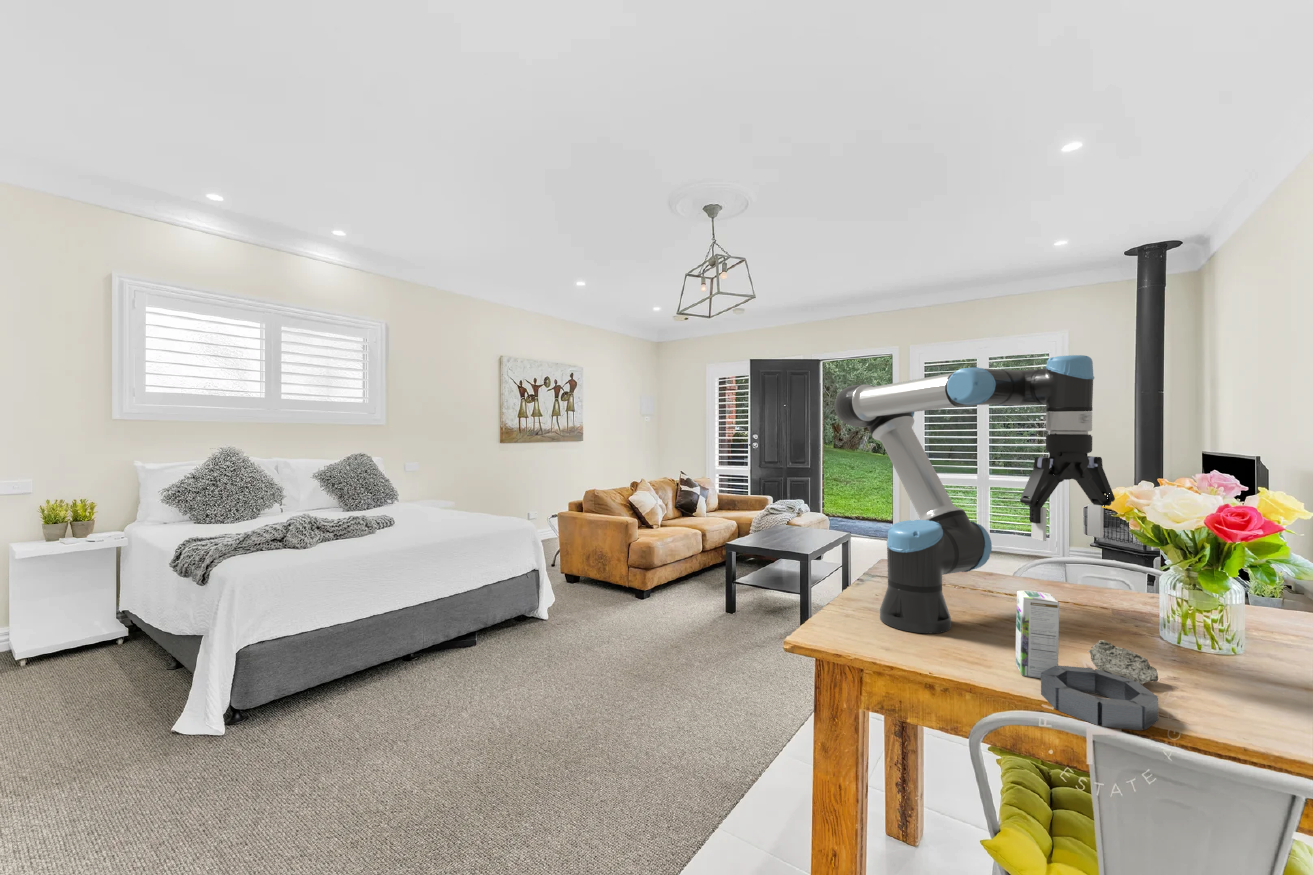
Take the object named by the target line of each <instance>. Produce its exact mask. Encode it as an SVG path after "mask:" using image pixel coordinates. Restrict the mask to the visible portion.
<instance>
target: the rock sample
mask: <svg viewBox="0 0 1313 875" xmlns="http://www.w3.org/2000/svg"><path fill="white" fill-rule="evenodd" d="M1087 653H1089V654H1090V659H1091V662H1092V663H1093V665H1094V666H1095V668H1096V669H1098V670H1101V671H1104V672H1108V673H1111V674H1114V675H1118V676H1121V677H1124V678H1128V679H1131V680H1134V682H1138V683H1139V684H1141V685H1142V686H1143V685H1144V684H1145V683H1150V682H1151V683H1153V682H1158V680H1159V674H1158V672H1157V668H1155V667H1153V665H1152V666H1151V664H1150V663H1149V660H1148V658H1147V657H1145V656H1142V655H1141V654H1139V653H1137V652H1134V651H1132V650H1130V649H1127V648H1124V647H1120V646H1116V645H1114V644H1113V643H1112V642H1108V641H1107V640H1103V639H1102V640H1101V639H1099V640H1098V641H1097V642H1096V643H1095V644H1093V646H1091V647H1090V649H1089V650H1087ZM1160 680H1161V678H1160Z"/></svg>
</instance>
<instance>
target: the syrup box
mask: <svg viewBox="0 0 1313 875" xmlns="http://www.w3.org/2000/svg"><path fill="white" fill-rule="evenodd" d="M1015 619H1016V620H1015V665H1016V668H1018V671H1019V672H1020V674H1021V675H1022V676H1023V677H1030V678H1037V679H1041V673H1042V672H1044V671H1046V670H1048V669H1050V668H1052V667H1054V666H1059V647H1060V646H1059V642H1060V641H1059V639H1060V638H1059V632H1060V601H1058V600H1057V599H1056V598H1055V597H1054V596H1053V595H1052V594H1051V593H1047V592H1042V591H1035V590H1017V591H1016V618H1015Z"/></svg>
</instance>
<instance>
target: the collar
mask: <svg viewBox="0 0 1313 875" xmlns="http://www.w3.org/2000/svg"><path fill="white" fill-rule="evenodd" d="M1088 693H1090V694H1088ZM1092 694H1097V695H1099V696H1102V697H1097V696H1095V695H1092ZM1040 695H1041V696H1042V697H1043V698H1044V699H1045V700H1046V701H1047V702H1048V704H1050V705H1051V706H1052V707H1053V708H1054V709H1055V710H1058V712H1060V713H1063V714H1066V715H1068V716H1072V717H1074V718H1077V719H1079V720H1082V721H1084V722H1087V723H1090V724H1093V725H1096V726H1099V725H1100V726H1101V727H1102V728H1103V727H1105V728H1113V729H1122V730H1123V729H1124V730H1132V731H1133V730H1134V731H1143V730H1144V731H1146V730H1148V729H1149V728H1150V727H1152V726H1153V725H1154V724H1156V723H1157V722H1158V721H1159V696H1157V694H1155V693H1154V692H1152V691H1150V690H1149V689H1148V688H1146V687H1145V686H1144V685H1143V684H1142V685H1141V684H1139V683H1138V682H1134V680H1131V679H1128V678H1124V677H1121V676H1118V675H1114V674H1111V673H1108V672H1104V671H1101V670H1098V669H1097V668H1095V669H1094V668H1092V667H1081V666H1069V665H1058V666H1054V667H1052V668H1050V669H1048V670H1046V671H1044V672H1042V673H1041V678H1040Z"/></svg>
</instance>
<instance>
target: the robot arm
mask: <svg viewBox="0 0 1313 875" xmlns="http://www.w3.org/2000/svg"><path fill="white" fill-rule="evenodd" d="M1094 380H1095V376H1094V363H1093V359H1092V358H1091V357H1090V356H1088V355H1082V354H1078V355H1077V354H1075V355H1074V354H1071V355H1059V356H1053V357H1050V358H1048V359H1047V360H1046V366H1045V367H1044V368H1038V369H1037V368H1036V369H1025V370H1023V369H1022V370H1018V369H1017V370H1016V369H1015V370H1013V369H997V368H996V369H995V368H982V367H979V366H978V367H977V366H976V367H975V366H974V367H972V366H971V367H965V368H964V367H963V368H959V369H958V370H956V371H954V372H951V373H945V374H944V373H943V374H939V375H938V374H937V375H934V376H927V377H922V378H917V379H912V380H906V381H899V382H893V383H888V384H882V385H871V384H867V383H866V384H853V385H849V386H847V387H844V388H843V389H842V390H840V392H839V393H838V394H837V396H836V397H835V400H834V401H835V402H834V411H835V413H836V416H837V418H838V419H839V420H840V421H841V422H842V423H844V424H845V425H847V426H850V427H853V428H854V427H856V428H863V427H864V428H868V431H869V433H870V435H871V437H872V439H874V440H875V441H878V442H881V444H882V445H883V448H884V449H885V452H886V454H887V456H888V458H889V459H890V462H891V464H892V466H893V468H894V470H895V472H896V474H897V476H898V478H899V480H900V482H901V484H902V485H903V487H904V490H905V491H906V493H907V494H906V495H908V497H909V500H910V501H911V503H912V505H913V508H914V509H915V512H916V514H917V515H918V517H919V519H913V520H902V521H898V522H896V523H893V524H892V525H890V527H889V528H888V530H887V540H886V546H887V548H886V550H887V554H886V555H887V559H886V560H887V588H886V591H885V594H884V597H883V599H882V602H881V605H880V606H879V608H880V609H879V619H880V621H881V622H882V623H884V624H885V625H887V626H889V627H892V628H894V629H897V630H901V631H905V632H911V633H918V634H941V633H945V632H948V631H949V630H950V629H951V628H952V617H951V615H950V611H949V608H948V605H947V603H946V600H945V597H944V593H943V575H950V574H956V573H968V572H970V571H973V570H977V569H979V568H981V567H983V566H984V565H985V564H986V563H987V562H988V561H989V559H990V556H991V552H992V550H993V549H992V548H993V546H992V540H991V537H990V534H989V532H988V531H987V529H986V528H985V527H984V526H982V525H981V524H979V523H976V522H975V521H971V520H970V518H969V517H968V515H967V513H966V511H965V510H964V509H963V508H960V507H957V506H955V505H954V502H952V499H951V496H950V495H949V494H948V492H947V490H946V488H945V486H944V485H943V483H942V481H941V479H940V477H939V475H938V473H937V472H936V470H935V468H934V466H933V464H932V463H931V460H930V459H929V456H928V455H927V453H926V451H925V450H924V448H923V445H922V444H921V442H920V440H919V439H918V437H917V435H916V432H915V431H914V429H913V426H914V424H915V419H914V416H915V412H917V413H918V412H924V411H934V410H940V409H951V408H959V407H960V408H961V407H962V408H963V407H971V406H983V405H984V406H985V405H986V406H988V405H989V406H990V405H992V406H994V405H995V406H998V407H999V406H1001V407H1014V406H1033V405H1045V406H1046V407H1045V408H1046V410H1045V411H1046V412H1045V414H1046V415H1045V431H1047V432H1049V433H1047V434H1046V436H1045V451H1046V452H1048V455H1049V457H1044V456H1041V457H1040V456H1039V457H1038V456H1036V457H1035V458H1034V460H1033V461H1034V462H1033V463H1034V464H1033V468H1032V471H1031V473H1030V476H1029V478H1028V480H1027V483H1026V485H1025V487H1024V490H1023V491H1022V494H1021V496H1020V498H1019V502H1020V504H1024V505H1025V506H1028V507H1029V522H1030V523H1031V528H1030V529H1031V533H1030V534H1031V536H1030V538H1031V539H1033V540H1038V541H1041V542H1046V541H1047V516H1048V515H1047V514H1048V512H1047V510H1048V508H1047V507H1044V505H1046V504H1045V503H1046V502H1047V501H1048V500H1049V498H1050V497H1051V495H1053V493H1054V492H1055V490H1056V488H1057V487H1058V485H1059V484H1060V483H1061V482H1064V481H1065V480H1066V481H1067V480H1068V481H1069V480H1074V481H1075V482H1077V484H1078V485H1079V487H1080V488H1081V490H1082V491H1083V492H1084V494H1085V495H1086V497H1088V500H1089V501H1090V502H1091V503H1088V504H1087V523H1086V525H1087V526H1086V527H1087V530H1086V532H1087V533H1086V534H1087V536H1088V537H1093V538H1099V539H1104V521H1105V518H1106V506H1107V507H1109V506H1111V505H1112V503H1114V502H1115V500H1116V498H1115V495H1114V493H1113V490H1112V486H1111V485H1110V483H1109V480H1108V478H1107V475H1106V473H1105V469H1104V467H1103V458H1102V457H1101V456H1093V455H1092V456H1091V455H1089V456H1088V454H1089V453H1092V452H1093V435H1092V434H1089V432H1092V431H1093V399H1094V398H1093V396H1094V395H1093V394H1094V392H1093V391H1094ZM1109 493H1110V494H1109ZM1107 495H1108V497H1107ZM1107 498H1108V499H1107ZM1103 505H1104V507H1105V508H1102V506H1103Z"/></svg>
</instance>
